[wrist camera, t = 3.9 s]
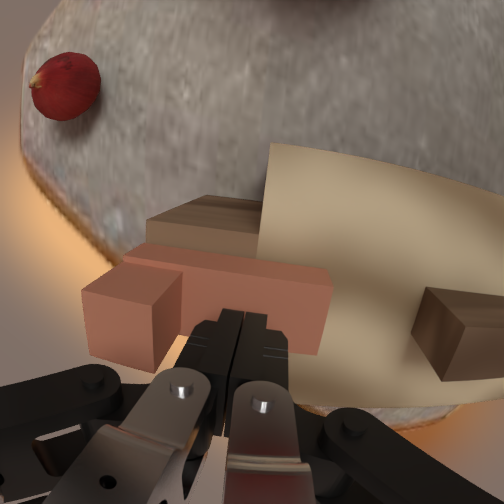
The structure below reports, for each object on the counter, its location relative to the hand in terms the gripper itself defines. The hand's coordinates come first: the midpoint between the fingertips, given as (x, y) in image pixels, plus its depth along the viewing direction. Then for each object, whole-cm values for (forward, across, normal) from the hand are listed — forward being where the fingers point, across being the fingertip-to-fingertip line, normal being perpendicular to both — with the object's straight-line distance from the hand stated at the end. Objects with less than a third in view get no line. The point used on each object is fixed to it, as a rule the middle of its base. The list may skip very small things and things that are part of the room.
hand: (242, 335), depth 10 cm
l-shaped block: (+3, +1, 0) cm, 4 cm away
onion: (+15, +17, -11) cm, 25 cm away
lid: (+6, -11, 0) cm, 12 cm away
